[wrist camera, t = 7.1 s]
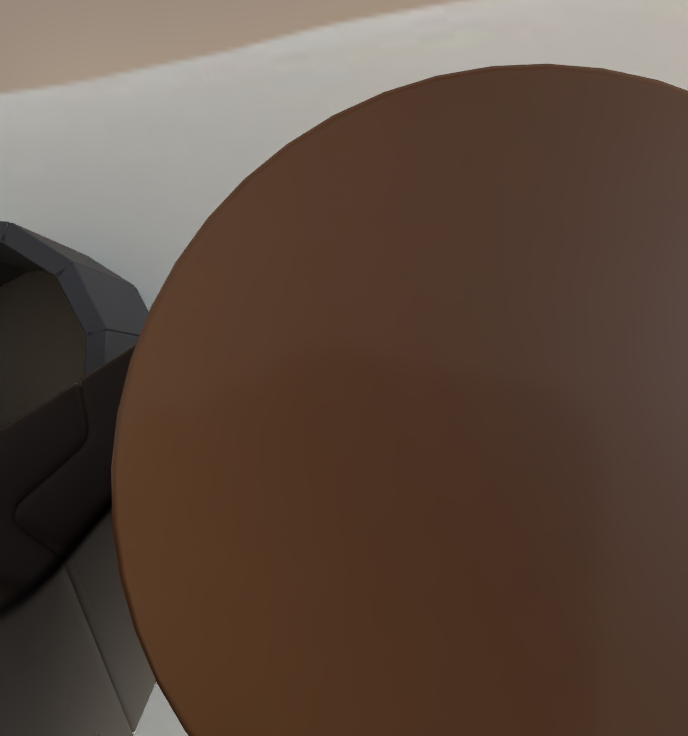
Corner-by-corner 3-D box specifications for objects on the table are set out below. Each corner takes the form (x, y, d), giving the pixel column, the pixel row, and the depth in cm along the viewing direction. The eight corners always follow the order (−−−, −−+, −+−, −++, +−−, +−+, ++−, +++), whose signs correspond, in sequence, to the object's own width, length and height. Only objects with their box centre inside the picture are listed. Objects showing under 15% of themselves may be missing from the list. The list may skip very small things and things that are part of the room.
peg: (364, 528, 15) (352, 1084, 3) (280, 366, 15) (-37, 309, 3) (527, 443, 15) (1159, 685, 3) (440, 281, 15) (714, -95, 3)
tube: (3, 518, 21) (-96, 556, 17) (-98, 320, 21) (-221, 304, 17) (201, 413, 21) (156, 422, 16) (98, 214, 21) (25, 169, 17)
